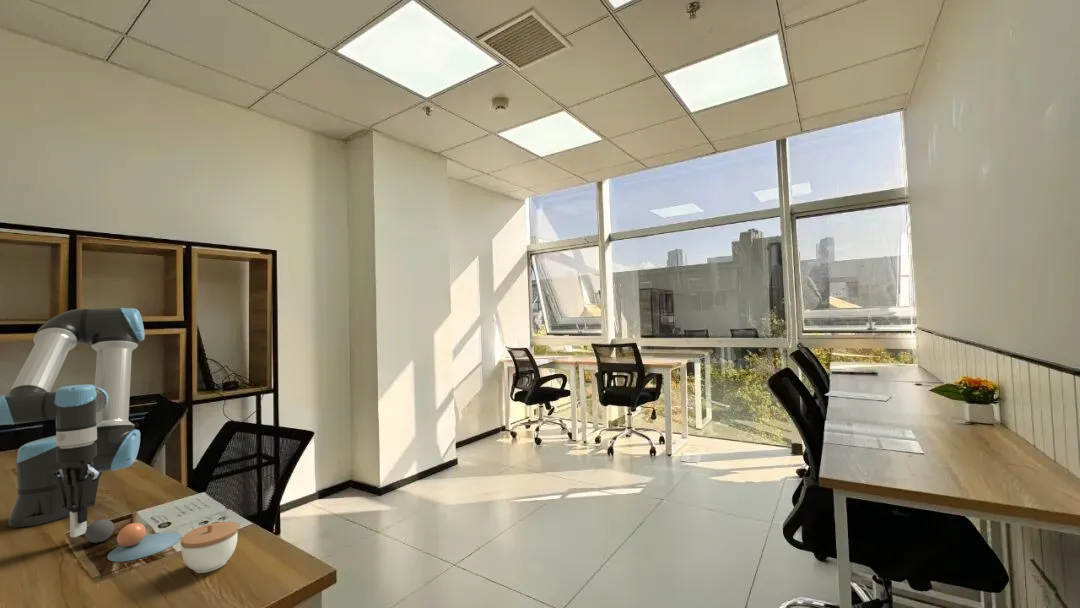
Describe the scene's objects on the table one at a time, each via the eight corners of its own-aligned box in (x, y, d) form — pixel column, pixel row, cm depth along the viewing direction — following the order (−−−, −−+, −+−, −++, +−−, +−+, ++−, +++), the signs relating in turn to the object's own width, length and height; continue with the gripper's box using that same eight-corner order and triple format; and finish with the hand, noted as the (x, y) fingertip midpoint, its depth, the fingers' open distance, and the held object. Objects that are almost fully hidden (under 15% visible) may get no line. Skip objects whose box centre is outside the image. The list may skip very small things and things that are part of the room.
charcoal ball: (100, 521, 116) (100, 543, 115) (119, 514, 121) (120, 536, 120) (78, 525, 116) (78, 548, 115) (98, 518, 121) (99, 540, 120)
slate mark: (92, 557, 110) (92, 556, 110) (156, 530, 123) (156, 529, 123) (132, 565, 106) (132, 564, 106) (193, 536, 119) (193, 535, 119)
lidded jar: (201, 555, 109) (200, 516, 109) (248, 551, 110) (247, 512, 110) (169, 581, 98) (168, 538, 99) (221, 577, 99) (220, 534, 99)
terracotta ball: (118, 523, 113) (133, 536, 112) (140, 515, 118) (155, 527, 117) (107, 542, 113) (122, 555, 112) (129, 533, 118) (144, 545, 117)
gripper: (39, 448, 116) (40, 540, 116) (79, 449, 114) (81, 543, 113) (74, 440, 123) (75, 526, 123) (112, 440, 121) (114, 529, 121)
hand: (78, 534), depth 118 cm, fingers closed
